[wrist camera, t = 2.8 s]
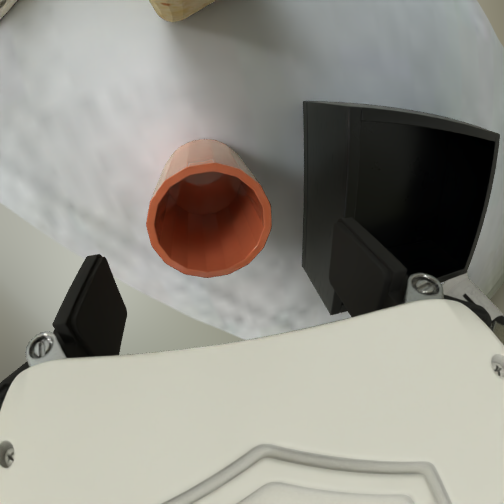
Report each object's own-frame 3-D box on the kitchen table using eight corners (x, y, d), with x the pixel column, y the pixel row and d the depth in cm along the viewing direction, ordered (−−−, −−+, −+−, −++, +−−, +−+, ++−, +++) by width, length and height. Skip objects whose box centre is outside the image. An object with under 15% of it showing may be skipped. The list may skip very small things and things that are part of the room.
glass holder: (441, 319, 39) (488, 380, 26) (407, 301, 33) (469, 383, 20) (472, 280, 35) (525, 337, 23) (446, 250, 30) (522, 324, 17)
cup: (171, 221, 21) (163, 285, 14) (157, 146, 18) (134, 176, 11) (246, 209, 22) (273, 267, 15) (241, 134, 19) (269, 156, 12)
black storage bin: (301, 265, 26) (330, 315, 20) (302, 101, 18) (349, 106, 12) (429, 241, 28) (466, 273, 22) (449, 117, 20) (500, 134, 14)
